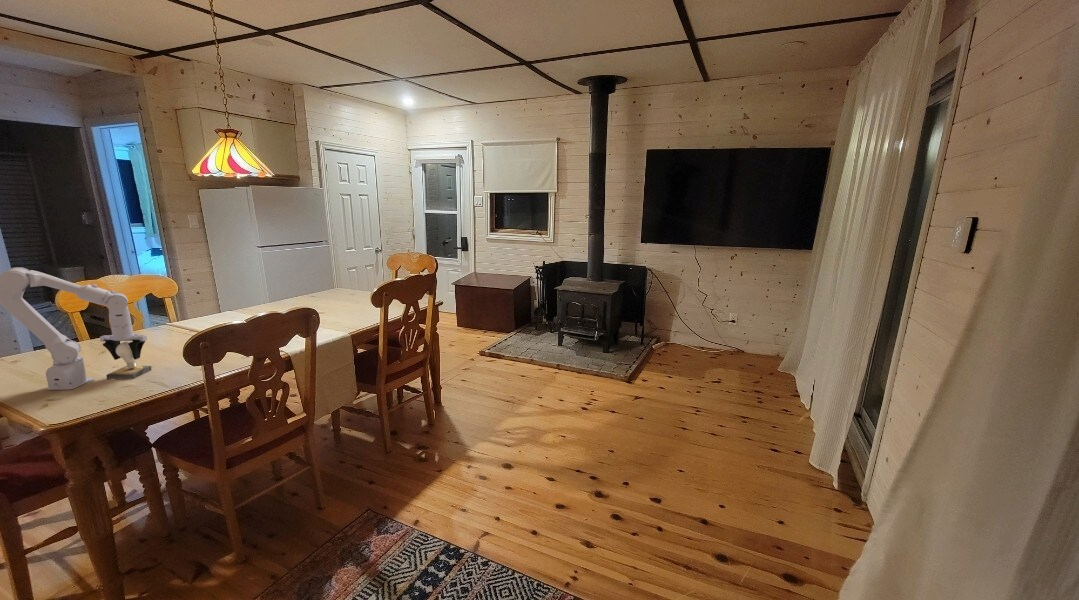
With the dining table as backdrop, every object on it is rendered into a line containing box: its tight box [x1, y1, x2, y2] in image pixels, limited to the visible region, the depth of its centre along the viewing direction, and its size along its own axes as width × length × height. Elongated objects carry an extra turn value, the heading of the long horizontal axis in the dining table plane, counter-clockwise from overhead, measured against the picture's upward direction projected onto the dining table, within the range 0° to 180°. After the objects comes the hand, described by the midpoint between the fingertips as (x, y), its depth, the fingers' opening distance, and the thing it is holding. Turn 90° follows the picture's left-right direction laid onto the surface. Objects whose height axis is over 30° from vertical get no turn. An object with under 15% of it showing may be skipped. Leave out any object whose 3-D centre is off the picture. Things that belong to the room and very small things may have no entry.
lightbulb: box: [116, 341, 137, 369], centre depth 164 cm, size 6×6×11 cm
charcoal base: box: [105, 365, 152, 380], centre depth 165 cm, size 9×9×2 cm
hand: (127, 358), depth 164 cm, fingers closed on lightbulb, 6 cm apart
